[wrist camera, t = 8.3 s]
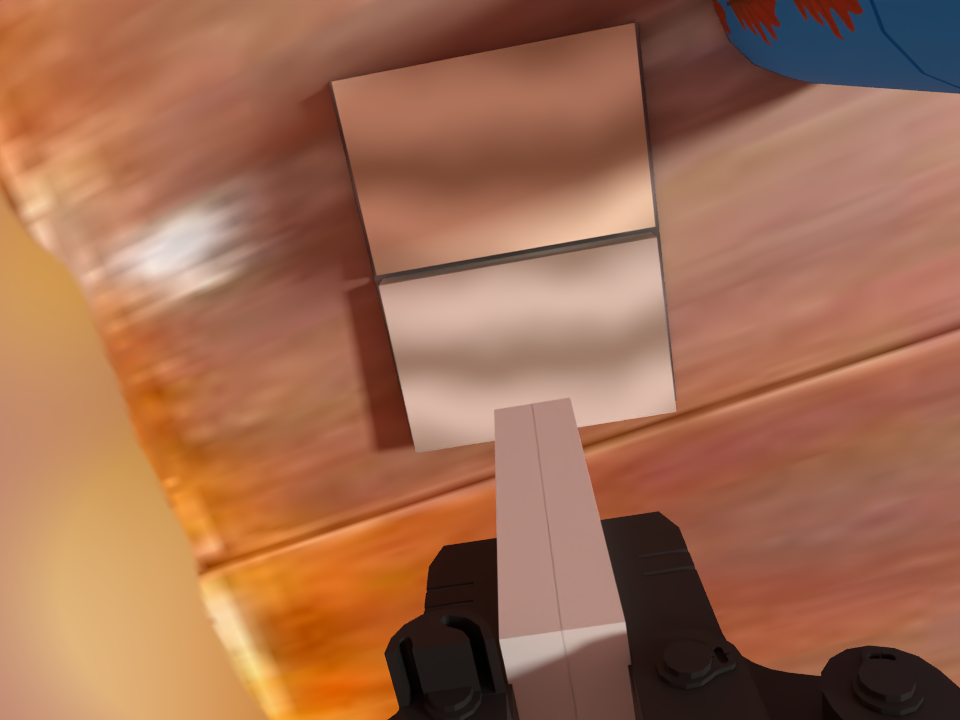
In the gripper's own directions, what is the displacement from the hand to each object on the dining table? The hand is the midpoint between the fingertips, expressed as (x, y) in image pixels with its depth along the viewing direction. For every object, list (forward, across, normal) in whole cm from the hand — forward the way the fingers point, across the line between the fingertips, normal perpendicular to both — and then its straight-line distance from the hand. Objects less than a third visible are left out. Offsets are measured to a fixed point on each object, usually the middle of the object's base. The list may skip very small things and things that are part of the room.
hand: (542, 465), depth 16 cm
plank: (+29, 0, -8) cm, 30 cm away
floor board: (+29, 0, -3) cm, 30 cm away
